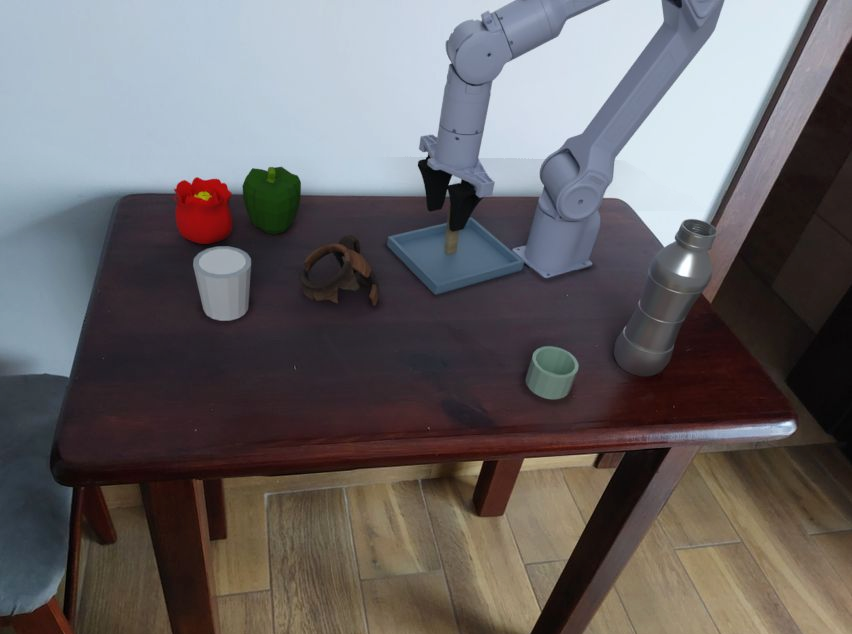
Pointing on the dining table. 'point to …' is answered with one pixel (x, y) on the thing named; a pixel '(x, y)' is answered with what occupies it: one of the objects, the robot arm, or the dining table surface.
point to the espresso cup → (551, 372)
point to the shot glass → (223, 281)
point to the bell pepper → (272, 198)
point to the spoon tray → (454, 256)
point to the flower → (203, 210)
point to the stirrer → (451, 238)
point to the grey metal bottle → (666, 299)
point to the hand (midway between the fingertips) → (445, 219)
